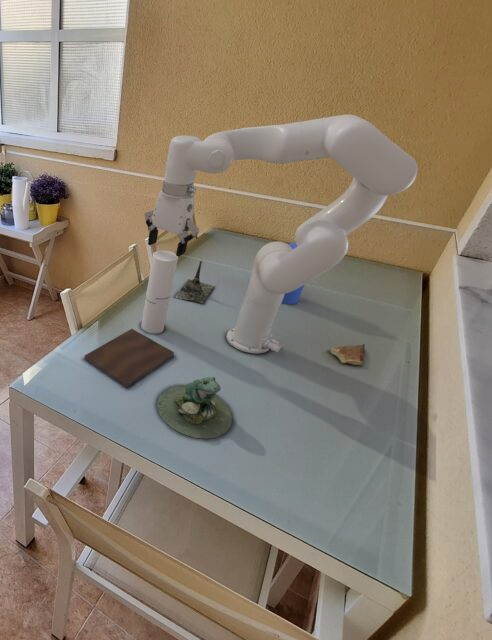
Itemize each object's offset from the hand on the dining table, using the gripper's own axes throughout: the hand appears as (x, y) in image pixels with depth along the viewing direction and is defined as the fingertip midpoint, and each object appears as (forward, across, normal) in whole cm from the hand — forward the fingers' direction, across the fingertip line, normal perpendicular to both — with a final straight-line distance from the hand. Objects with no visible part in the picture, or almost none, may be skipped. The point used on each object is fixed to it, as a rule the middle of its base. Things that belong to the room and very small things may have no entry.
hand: (165, 249), depth 119 cm
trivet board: (+27, -6, +18) cm, 33 cm away
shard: (+27, -46, -32) cm, 63 cm away
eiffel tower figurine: (+27, +4, -30) cm, 41 cm away
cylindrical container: (+27, 0, 0) cm, 27 cm away
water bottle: (+27, -19, -51) cm, 61 cm away
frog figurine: (+27, -30, +22) cm, 46 cm away
